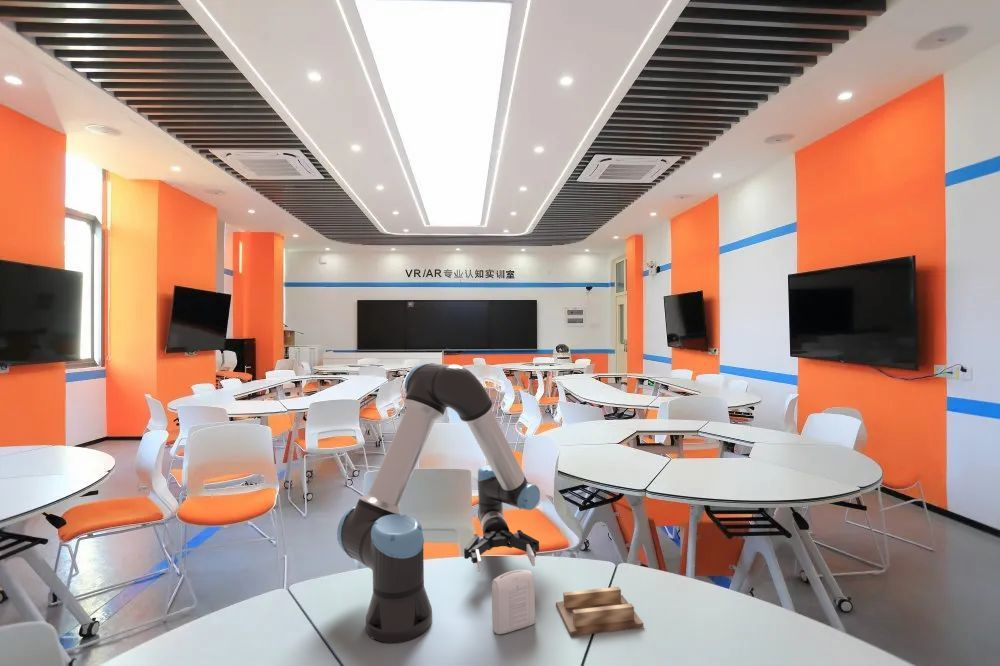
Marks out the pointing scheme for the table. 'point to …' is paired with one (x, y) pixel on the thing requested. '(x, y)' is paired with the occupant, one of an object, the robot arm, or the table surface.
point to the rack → (597, 611)
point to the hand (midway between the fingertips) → (506, 563)
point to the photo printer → (513, 601)
